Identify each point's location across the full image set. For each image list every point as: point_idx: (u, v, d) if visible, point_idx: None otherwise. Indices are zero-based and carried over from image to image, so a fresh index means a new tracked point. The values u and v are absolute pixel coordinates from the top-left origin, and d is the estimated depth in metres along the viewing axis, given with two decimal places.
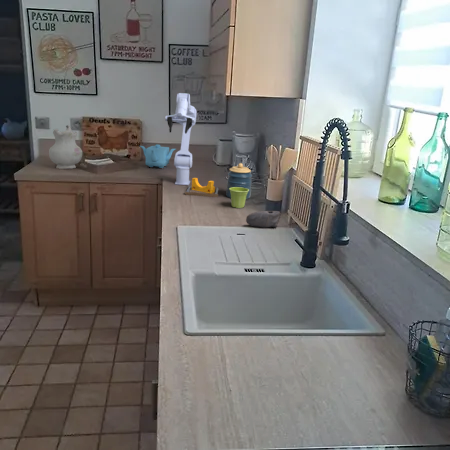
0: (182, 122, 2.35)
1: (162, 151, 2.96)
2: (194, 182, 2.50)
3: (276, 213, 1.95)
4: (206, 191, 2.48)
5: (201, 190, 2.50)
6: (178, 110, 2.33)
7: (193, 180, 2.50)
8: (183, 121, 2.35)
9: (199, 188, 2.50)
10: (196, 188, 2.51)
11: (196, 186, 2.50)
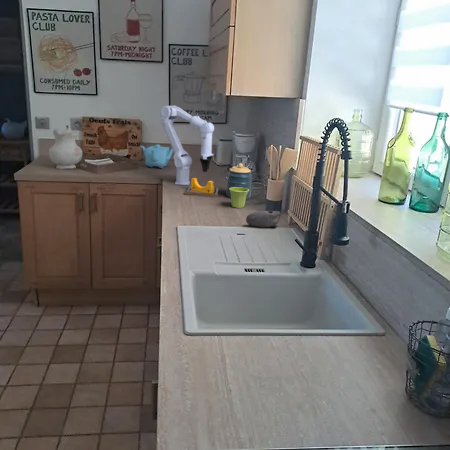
0: None
1: (162, 151, 2.96)
2: (193, 182, 2.50)
3: (276, 213, 1.95)
4: (206, 191, 2.48)
5: (200, 190, 2.49)
6: (211, 149, 2.51)
7: (192, 180, 2.50)
8: None
9: (198, 188, 2.49)
10: (195, 188, 2.50)
11: (195, 186, 2.50)
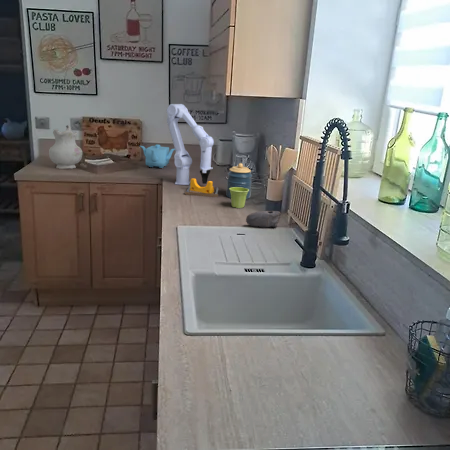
0: None
1: (162, 151, 2.96)
2: (193, 183, 2.49)
3: (276, 213, 1.95)
4: (205, 191, 2.47)
5: (200, 190, 2.48)
6: (210, 163, 2.54)
7: (192, 181, 2.49)
8: None
9: (198, 189, 2.49)
10: (195, 189, 2.49)
11: (195, 187, 2.49)
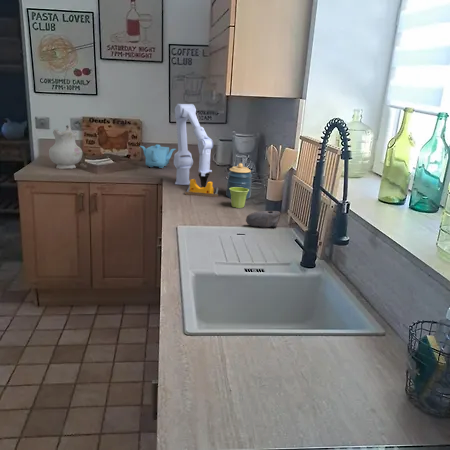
0: None
1: (162, 151, 2.96)
2: (192, 183, 2.47)
3: (276, 213, 1.95)
4: (205, 192, 2.45)
5: (200, 191, 2.46)
6: (209, 166, 2.46)
7: (191, 181, 2.47)
8: None
9: (198, 189, 2.46)
10: (194, 189, 2.47)
11: (194, 187, 2.47)
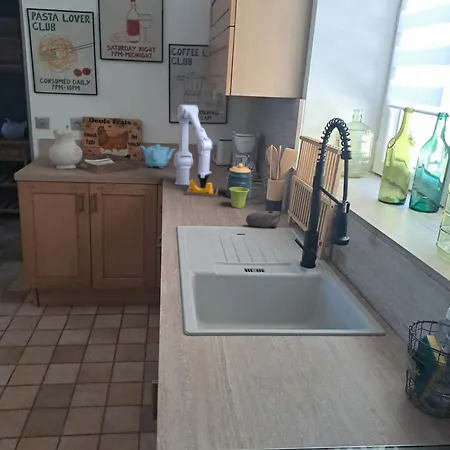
0: None
1: (162, 151, 2.96)
2: (192, 184, 2.44)
3: (276, 213, 1.95)
4: None
5: (199, 192, 2.44)
6: (208, 167, 2.42)
7: (191, 182, 2.44)
8: None
9: (197, 190, 2.44)
10: (194, 191, 2.44)
11: (194, 188, 2.44)
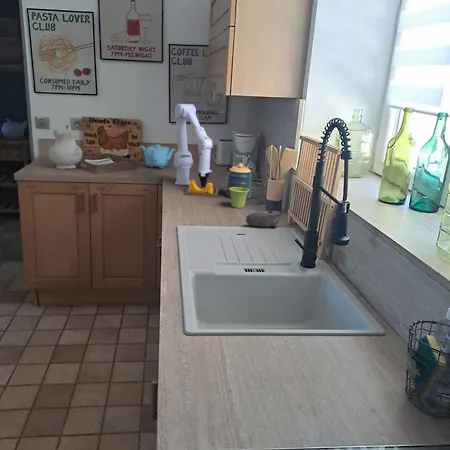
0: None
1: (162, 151, 2.96)
2: (192, 185, 2.44)
3: (276, 213, 1.95)
4: None
5: None
6: (209, 166, 2.46)
7: (191, 183, 2.44)
8: None
9: (197, 191, 2.44)
10: (194, 191, 2.44)
11: (194, 189, 2.44)
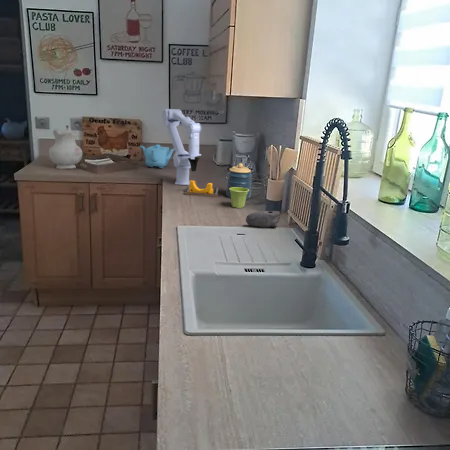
0: None
1: (162, 151, 2.96)
2: (192, 185, 2.44)
3: (276, 213, 1.95)
4: None
5: None
6: (198, 149, 2.49)
7: (191, 183, 2.44)
8: None
9: (197, 191, 2.44)
10: (194, 191, 2.44)
11: (194, 189, 2.44)
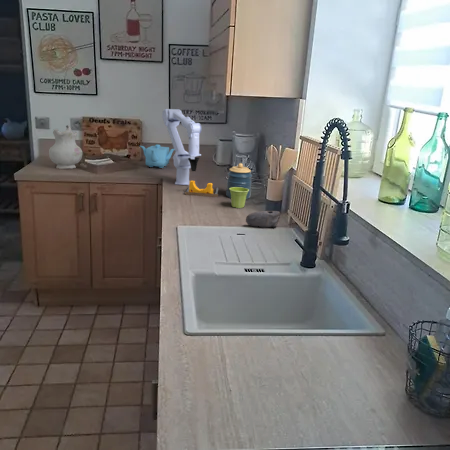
0: None
1: (162, 151, 2.96)
2: (192, 185, 2.43)
3: (276, 213, 1.95)
4: None
5: None
6: (198, 149, 2.49)
7: (191, 183, 2.43)
8: None
9: (197, 191, 2.43)
10: (194, 191, 2.44)
11: (194, 189, 2.44)
